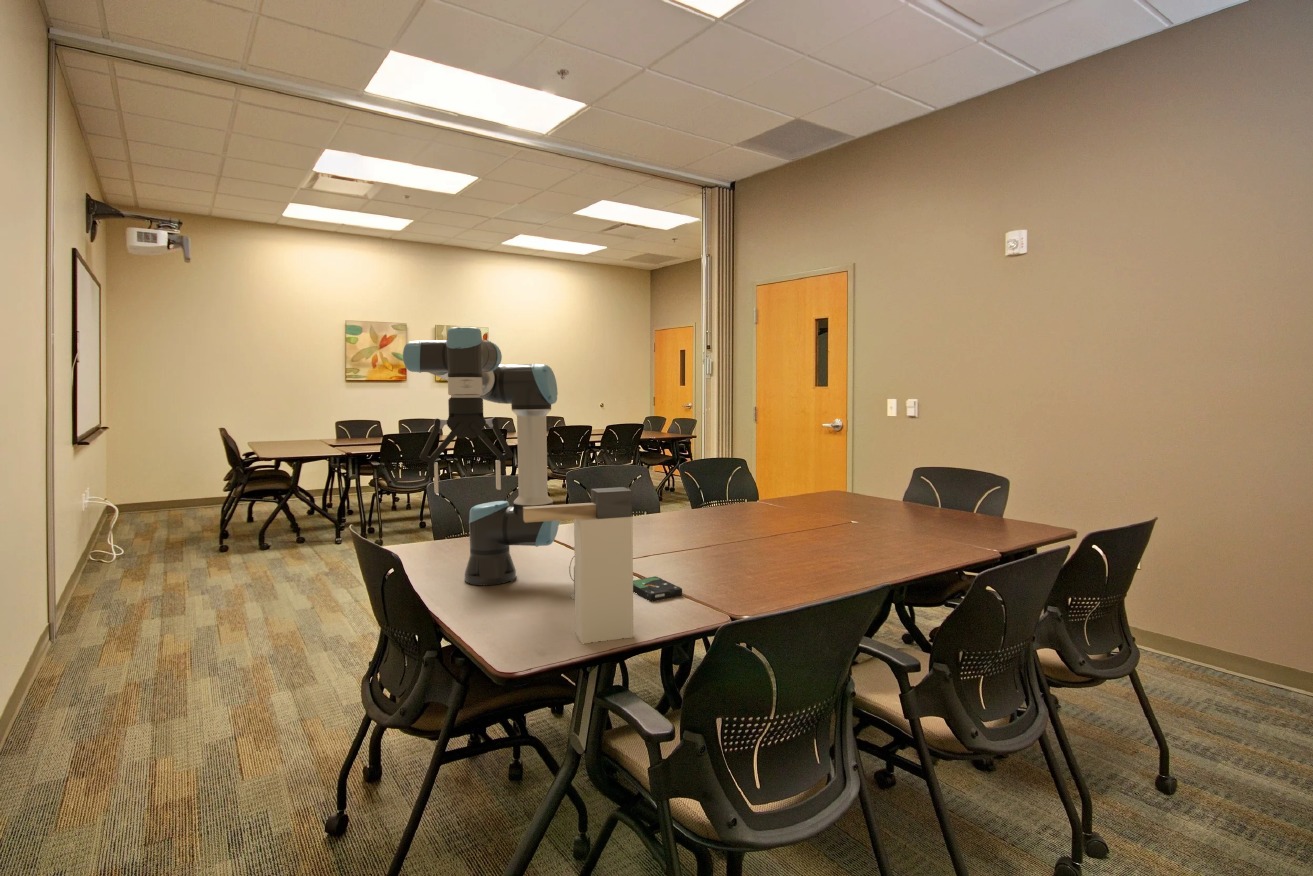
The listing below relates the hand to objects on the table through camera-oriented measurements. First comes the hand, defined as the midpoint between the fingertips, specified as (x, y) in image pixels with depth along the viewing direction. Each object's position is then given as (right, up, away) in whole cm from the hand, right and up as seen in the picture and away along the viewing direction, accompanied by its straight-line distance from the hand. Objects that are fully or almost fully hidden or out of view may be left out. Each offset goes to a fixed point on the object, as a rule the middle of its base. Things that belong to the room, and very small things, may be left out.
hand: (467, 490), depth 155 cm
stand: (+31, -34, +4) cm, 46 cm away
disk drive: (+42, -32, +38) cm, 65 cm away
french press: (+23, -32, +34) cm, 52 cm away
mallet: (+25, -6, 0) cm, 26 cm away
